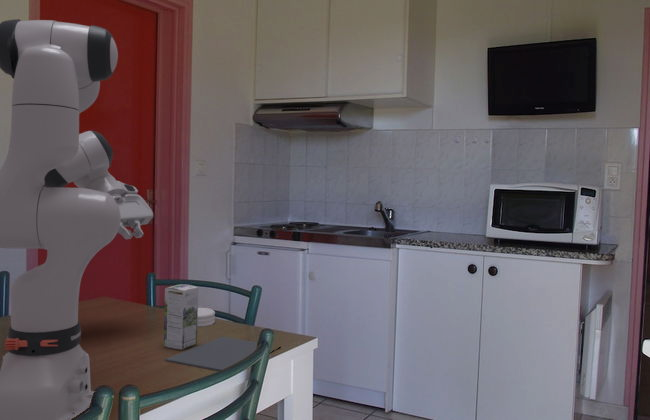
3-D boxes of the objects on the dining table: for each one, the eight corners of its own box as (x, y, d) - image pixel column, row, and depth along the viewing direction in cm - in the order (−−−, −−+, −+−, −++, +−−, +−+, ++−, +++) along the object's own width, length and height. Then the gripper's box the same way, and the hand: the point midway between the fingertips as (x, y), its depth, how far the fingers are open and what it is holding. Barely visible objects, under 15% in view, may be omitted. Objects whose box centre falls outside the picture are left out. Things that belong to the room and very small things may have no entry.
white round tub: (175, 320, 180) (175, 308, 180) (211, 318, 184) (211, 306, 184) (181, 329, 171) (181, 316, 171) (218, 326, 175) (218, 314, 174)
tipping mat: (165, 360, 142) (165, 359, 142) (222, 338, 162) (222, 336, 162) (229, 373, 135) (229, 371, 135) (281, 347, 155) (281, 346, 155)
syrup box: (178, 341, 158) (179, 283, 157) (198, 345, 156) (198, 285, 155) (163, 347, 153) (163, 287, 152) (183, 350, 151) (183, 289, 150)
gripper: (79, 188, 152) (111, 231, 148) (139, 186, 170) (168, 225, 167) (66, 206, 154) (96, 249, 151) (126, 202, 173) (155, 241, 169)
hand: (135, 237), depth 159 cm, fingers open, 2 cm apart
